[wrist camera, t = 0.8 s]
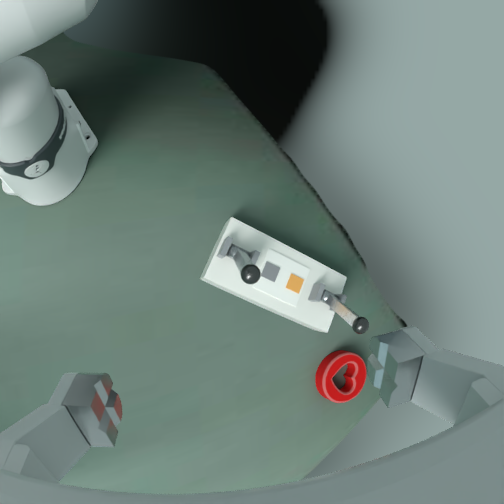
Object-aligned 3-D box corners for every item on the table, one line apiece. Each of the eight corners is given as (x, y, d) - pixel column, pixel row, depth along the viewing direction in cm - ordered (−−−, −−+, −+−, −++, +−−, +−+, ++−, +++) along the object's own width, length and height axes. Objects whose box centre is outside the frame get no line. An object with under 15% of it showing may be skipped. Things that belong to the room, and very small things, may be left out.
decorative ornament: (309, 362, 53) (318, 365, 50) (352, 342, 56) (362, 344, 53) (320, 407, 52) (329, 412, 49) (361, 385, 56) (371, 389, 53)
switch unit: (199, 278, 49) (206, 276, 43) (225, 222, 51) (235, 212, 45) (315, 330, 54) (335, 334, 48) (334, 278, 56) (355, 276, 50)
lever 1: (225, 255, 46) (234, 279, 33) (232, 241, 46) (244, 261, 33) (243, 263, 47) (259, 291, 34) (250, 250, 47) (269, 273, 34)
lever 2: (315, 298, 50) (351, 332, 37) (322, 286, 50) (360, 317, 37) (329, 305, 50) (368, 339, 37) (336, 293, 50) (377, 324, 37)
